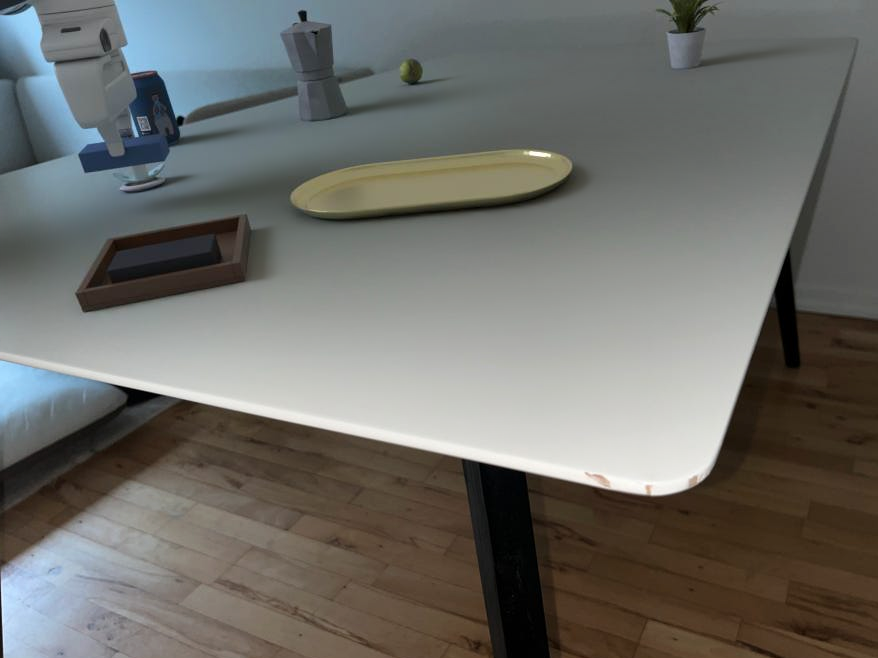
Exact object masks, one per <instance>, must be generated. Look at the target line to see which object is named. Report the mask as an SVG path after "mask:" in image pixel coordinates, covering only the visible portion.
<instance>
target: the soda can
mask: <svg viewBox="0 0 878 658" xmlns="http://www.w3.org/2000/svg"><path fill="white" fill-rule="evenodd" d="M131 76H132V79H133V82H134V85H135V88H136V94H137V97H136V99H135V100H134V101H133V102H132V103H131V104H130V105H129V106H128V107H129V110H130V114H131V119H132V120H133V124H134V126H135V131H136V132H137V137H141V136H148V135H155V134H162V133H164V134H165V137H166V140H167V143H168V146H169V147H170V146H173V145H176V144H177V143H179V141H180V137H181V130H180V127H179V124H178V120H177V118H176V115H175V112H174V108H173V105H172V102H171V99H170V95H169V92H168V89H167V86H166V83H165V81H164V79H163V78H162V77H161V76H160V74H158V70H145V71H137V72H133V73H131Z"/></svg>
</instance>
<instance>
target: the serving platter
mask: <svg viewBox="0 0 878 658" xmlns="http://www.w3.org/2000/svg"><path fill="white" fill-rule="evenodd" d="M573 169H574V168H573V163H572V161H571V160H570V159H569V158H568V157H567V156H565V155H562V154H559V153H556V152H553V151H549V150H548V151H547V150H541V149H540V150H539V149H520V148H519V149H501V150H500V149H499V150H491V151H482V152H481V151H480V152H471V153H470V152H469V153H462V154H452V155H441V156H432V157H431V156H430V157H422V158H413V159H403V160H393V161H383V162H374V163H366V164H360V165H355V166H349V167H345V168H341V169H337V170H334V171H330V172H326V173H324V174H321V175H319V176H316V177H313V178H312V179H309V180H308V181H305V182H303V183H302V184H301V185H299V186H298V187H296V188H295V189H294V190H293V191H292V192H291V195H290V199H289V200H290V203H291V205H292V206H293V207H294V208H295V209H296V210H298V211H300V212H301V213H302V214H305V215H308V216H310V217H314V218H319V219H325V220H357V219H367V218H368V219H369V218H377V217H386V216H387V217H388V216H397V215H408V214H420V213H426V212H427V213H430V212H439V211H451V210H462V209H472V208H481V207H482V208H483V207H492V206H502V205H508V204H509V205H510V204H513V203H520V202H523V201H527V200H531V199H534V198H537V197H541V196H542V195H545V194H547V193H550V192H551V191H553V190H555V189H557V188H559V187H560V186H562V184H563V183H564V182H566V180H567V179H568V178H569V177H570V175H571V173H572V171H573Z"/></svg>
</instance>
